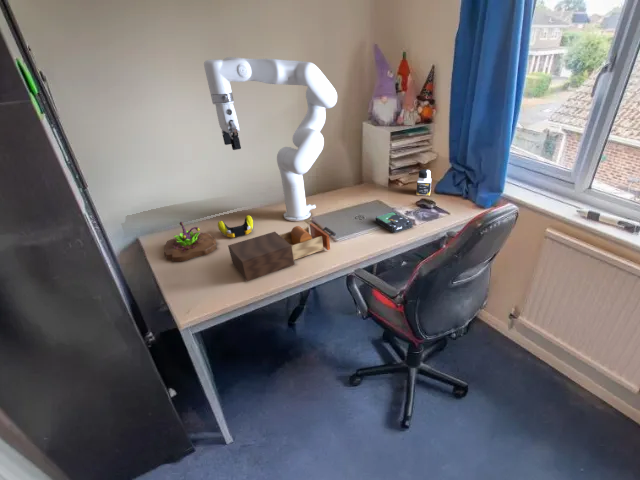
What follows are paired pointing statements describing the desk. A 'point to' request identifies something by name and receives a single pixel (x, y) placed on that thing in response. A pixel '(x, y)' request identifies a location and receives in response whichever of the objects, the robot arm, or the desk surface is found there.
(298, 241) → the brown rounded block
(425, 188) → the medicine bottle
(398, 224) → the disk drive
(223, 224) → the gaming controller
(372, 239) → the desk surface
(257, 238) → the cabinet
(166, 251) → the plant
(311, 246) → the drawer
